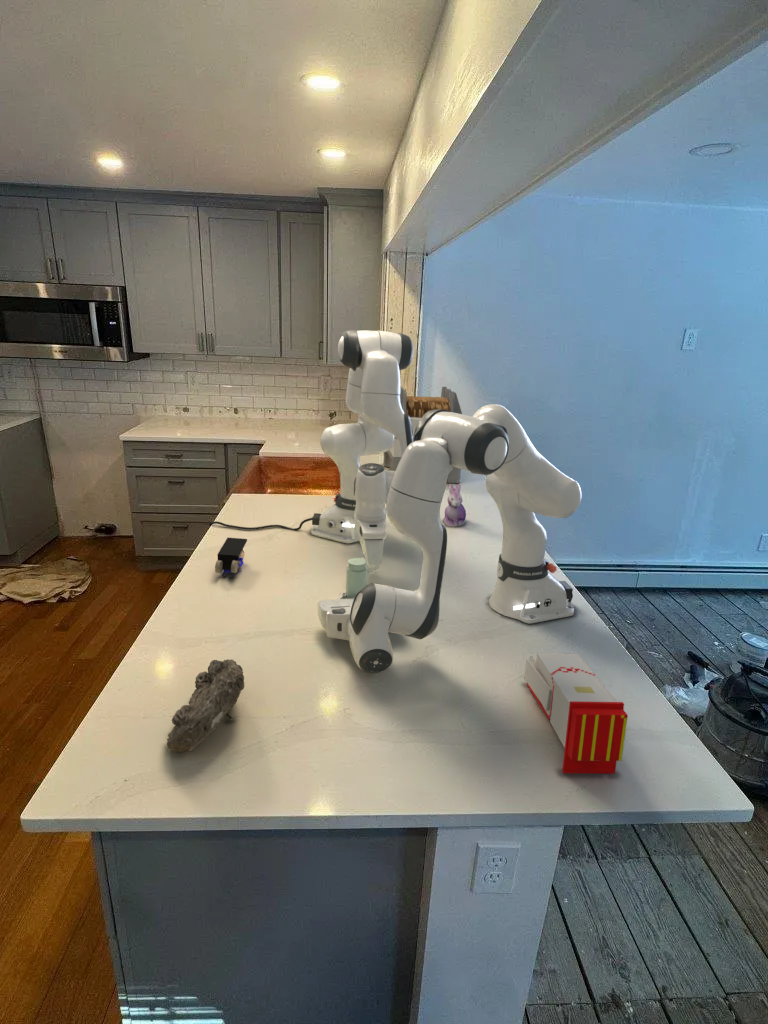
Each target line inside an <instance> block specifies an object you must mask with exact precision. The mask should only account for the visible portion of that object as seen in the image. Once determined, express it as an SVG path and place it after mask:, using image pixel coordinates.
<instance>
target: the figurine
mask: <svg viewBox="0 0 768 1024" xmlns="http://www.w3.org/2000/svg"><path fill="white" fill-rule="evenodd" d="M461 487H462V485H461V483H457V485H456V486H455V487H454V486H453V485H452V483H449V485H448V491H449V494H448V496H447V503H448V505H447V506H446V507H445V509H444V518H443V524H445V525H446V526H447V527H453V528H455V527H460V526H463V525H464V524H465V522H466V519H467V512H466V509H465V506H464V505H463V504H462V503H463V497H462V495H461Z"/></svg>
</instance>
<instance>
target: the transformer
mask: <svg viewBox="0 0 768 1024" xmlns="http://www.w3.org/2000/svg"><path fill="white" fill-rule="evenodd" d="M440 393H441V394H440V396H415V395H414V396H413V395H412V396H411V395H407V394H408V393H407V390H406V389H404V388H403V387H402V385H400V403H401V407H402V409H403V411H404V413H406V414H407V415H409V417H410V420H411V424H412V430H413V438H414V432H415V429H416V426H417V424H418V422H419V420H420V419H421V418H422V416H423V415H424V414H425V413H427V412H428V411H430V410H437V409H438V410H447V411H449V412H453V413H459V414H463V411H462V408H461V405H460V402H459V398H458V395H457V392H455V391H453V390H452V389H451V388H447V386H442V387H441V392H440ZM401 458H402V457H401V448H400V443H399V440H398V439H397V438H396V436H394V444H393V446H392V448H391V449H390V450H389V451H387V452H384V453H383V467H388V468H389V470H390V471H396V469H397V466H398V464H399V462H400V460H401ZM452 467H453V469H452V470H451V471H450V473H449V474H448V478H447V483H449V484H455V483H456V484H460V483H461V472H462V469H460V468H457V467H454V466H452Z"/></svg>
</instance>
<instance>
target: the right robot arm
mask: <svg viewBox="0 0 768 1024" xmlns="http://www.w3.org/2000/svg"><path fill="white" fill-rule="evenodd" d="M520 423H521V422H519V421H518V419H517V418H516V417H515V416H514V415H513V414H512V413H511V412H510V410H508V409H507V408H506V407H505V406H503V405H501V404H496V403H490V404H486V405H483V406H480V408H478V409H477V410H476V411H475V412H474V413H473V415H472V416H471V415H468V414H463V413H462V414H459V413H453V412H449V411H447V410H438V409H437V410H430V411H428V412H427V413H425V414H424V415H423V416H422V418H421V419H420V420H419V422H418V424H417V426H416V429H415V432H414V438H413V442H412V443H411V444H409V445H408V447H407V448H406V450H405V452H404V454H403V455H402V458H401V460H400V462H399V464H398V466H397V469H396V471H395V474H394V477H393V480H392V483H391V486H390V489H389V493H388V497H387V502H386V504H385V508H386V517H387V518H388V521H389V522H390V524H391V525H392V527H394V529H395V530H396V531H398V532H399V533H400V534H401V535H402V536H404V537H405V538H406V539H408V540H410V541H411V542H413V543H414V544H416V545H417V546H418V547H419V548H420V549H421V551H422V555H423V556H422V565H421V572H420V581H419V585H418V588H417V589H415V590H409V589H406V588H405V589H404V588H399V587H393V586H391V585H386V584H380V583H375V582H370V583H367V586H365V587H364V588H363V589H361V590H360V591H359V592H358V593H357V595H356V596H355V598H351V599H346V592H340V593H339V597H338V598H334V599H321V600H319V601H318V602H317V617H318V621H319V623H320V625H321V626H322V628H323V629H324V630H325V634H326V637H328V638H331V639H339V640H344V641H348V642H349V648H350V652H351V655H352V658H353V660H354V662H355V664H356V666H357V667H358V668H359V669H360V670H361V671H362V672H365V673H369V674H379V673H382V672H384V671H386V670H387V669H389V668H390V667H391V666H392V664H393V661H394V653H393V648H392V647H393V646H392V641H391V639H390V635H389V633H393V634H399V635H402V636H403V635H404V636H406V637H410V638H413V639H416V640H424V639H425V638H427V637H428V636H430V635H431V634H432V633H433V632H434V631H436V629H437V627H438V624H439V620H440V603H441V592H442V585H443V584H442V583H443V578H444V570H445V565H446V557H447V549H448V548H447V547H448V531H447V527H446V526H445V525H444V523H442V521H441V506H442V503H443V498H444V496H445V491H446V487H447V483H448V482H447V478H448V474H449V473H450V471H451V470H452V469H453V467H452V466H454V467H457V468H460V469H461V470H463V471H469V472H470V473H472V474H475V475H480V476H481V475H482V476H486V477H485V487H486V492H487V493H488V495H490V496H491V498H492V499H493V501H494V502H495V504H496V507H497V509H498V511H499V515H500V519H501V525H502V539H501V540H502V543H501V551H500V553H499V556H498V562H497V568H496V581H495V585H494V588H493V591H492V594H491V596H490V598H489V600H488V604H489V606H490V608H491V609H492V610H493V611H494V612H496V613H498V614H499V615H502V616H505V617H508V618H510V619H511V618H512V619H516V620H518V621H520V622H523V623H524V624H529V625H531V624H537V623H543V622H546V621H552V620H556V619H557V620H558V619H562V618H567V617H571V616H574V615H575V608H574V605H573V604H572V603H571V602H572V600H573V597H574V594H573V591H574V589H573V587H572V586H571V585H570V584H569V583H568V582H567V581H566V580H558V579H557V578H556V577H554V575H552V574H554V573H556V572H557V570H558V568H557V566H556V565H554V563H550V562H549V560H548V559H546V558H545V555H546V554H545V553H546V547H547V541H548V534H547V531H546V529H545V527H544V526H543V525H542V524H541V522H540V521H539V520H538V519H537V517H536V515H541V516H543V517H548V518H553V519H554V518H555V519H567V518H570V517H571V516H572V515H574V514H575V513H576V512H577V511H578V509H579V507H580V505H581V502H582V496H583V495H582V494H583V493H582V488H581V486H580V484H579V483H578V481H577V480H575V479H573V478H571V477H569V476H568V475H566V474H565V473H563V472H562V471H560V470H559V468H557V467H555V465H553V464H552V463H551V462H550V461H549V460H547V459H546V458H545V457H544V456H543V455H542V454H541V453H540V452H539V451H538V450H537V449H536V447H535V446H534V444H533V442H532V441H531V440H530V438H529V436H528V434H527V432H526V431H525V429H524V428H523V426H522V425H521V424H520Z"/></svg>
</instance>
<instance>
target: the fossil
mask: <svg viewBox="0 0 768 1024" xmlns="http://www.w3.org/2000/svg"><path fill="white" fill-rule="evenodd" d="M243 670H244V669H243V667H242V665H240V664H237V662H236V661H235V660H234V659H232V658H231V659H227V658H226V659H224V660H223V661H222V660H217V659H212V660H211V661H210V663H209V665H208V666H207V671H201V672H199V673H198V674H197V675H196V676H195V680H194V684H195V685H194V687H195V689H194V690H193V693H192V694H191V697H190V698H189V700H188V704H184V705H182V706H181V707H180V709H177V710H176V711H175V713H174V715H173V716H172V718H171V723H172V724H173V727H172V730H171V731H170V732H168V734H167V738H166V741H167V742H166V745H167V749H168V750H169V751H173V752H174V753H176V754H178V753H182V752H188V751H189V752H192V751H193V750H195V748H196V747H197V746H199V744H200V743H201V742H203V741H204V740H205V739H206V738H207V737H208V736H209V735H210V734H211V733H212V732H214V730H215V729H217V727H218V726H219V724H220V722H221V721H222V720H223V719H224V718H225V716H226V717H227V719H229V720H233V717H232V715H230V714H229V710H230V709H231V708H234V706H235V704H236V703H237V702H238V699H239V697H240V695H241V693H242V691H243V690H245V689H244V688H245V675H244V671H243Z"/></svg>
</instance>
